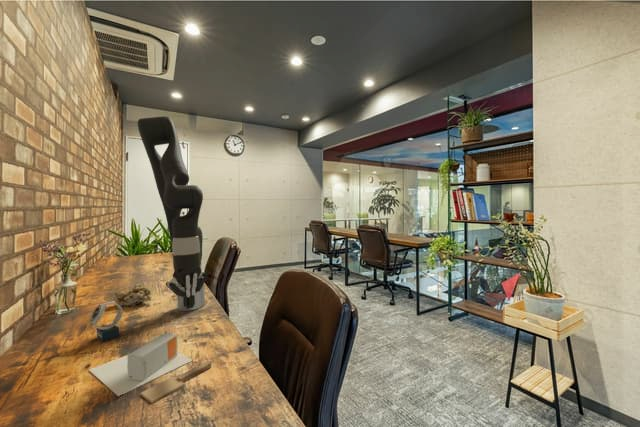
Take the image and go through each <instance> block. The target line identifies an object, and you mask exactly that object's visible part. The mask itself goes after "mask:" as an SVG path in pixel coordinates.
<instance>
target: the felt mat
mask: <svg viewBox="0 0 640 427" xmlns="http://www.w3.org/2000/svg"><path fill="white" fill-rule="evenodd" d="M191 362H193V359H191V358H189V357H188V356H185V355H183V354H181V353H179V352H178V351H177V356H176V357H175V358H173V359H172V360H171V361H169V362H168V363H167V364H165V365H164V366H163V367H161V368H160V369H158V370H157V371H156V372H154V373H153V374H152V375H150V376H149V377H148V378H146V379H145V380H144V381H136V380H128V369H127V364H128V354H127V355H124V356H120V357H118V358H116V359H113V360H111V361H108V362H105V363H103V364H100V365H97V366H95V367H93V368H90V369H88V371H89V372H90V373H91V374H92V375H93V376H94V377H95V378H97V380H99V381H100V382H101V383H102V384H104V385H105V386H106V387H107V388H108V389H109V390H110V391H111V392H113V393H114V394H115V395H116V396H117V397H121V396H122V394H123V395H125V394H126V393H128V392H131V391H133V390H135V389H138V388H140V387H141V386H143V385H144V386H145V384H148V383H149V382H151V381H154V380H157V379H158V378H160V377H163V376H164V375H166V374H168V373H171V372H173V371H175V370H177V369H179V368H181V367H183V366H185V365H188V364H189V363H191ZM120 395H121V396H120Z"/></svg>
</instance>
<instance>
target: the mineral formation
mask: <svg viewBox="0 0 640 427" xmlns="http://www.w3.org/2000/svg"><path fill="white" fill-rule="evenodd" d="M133 286H134V287H133V288H132V289H130V290H129V291H128V292H127V291H123V290H119V291H117V290H116V291H115V292H114V297H113V300H112V301H114V303H117V304H118V305H120V306H121V307H123V306H130V307H135V306H136V305H139V304H140V303H144V301H147V300H148V301H150V300H152V292H151V289H150V288H148V287H147V286H143V285H142V284H141V283H136V284H134V285H133ZM114 307H118V306H117V305H115V304H114Z"/></svg>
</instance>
